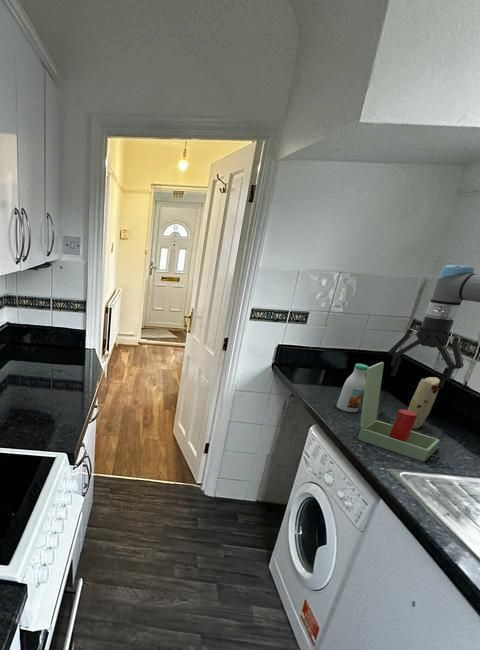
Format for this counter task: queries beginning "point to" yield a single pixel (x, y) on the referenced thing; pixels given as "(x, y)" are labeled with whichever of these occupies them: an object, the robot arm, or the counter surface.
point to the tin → (403, 425)
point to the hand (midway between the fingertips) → (415, 381)
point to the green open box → (398, 441)
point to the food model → (424, 399)
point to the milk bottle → (353, 389)
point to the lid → (371, 393)
